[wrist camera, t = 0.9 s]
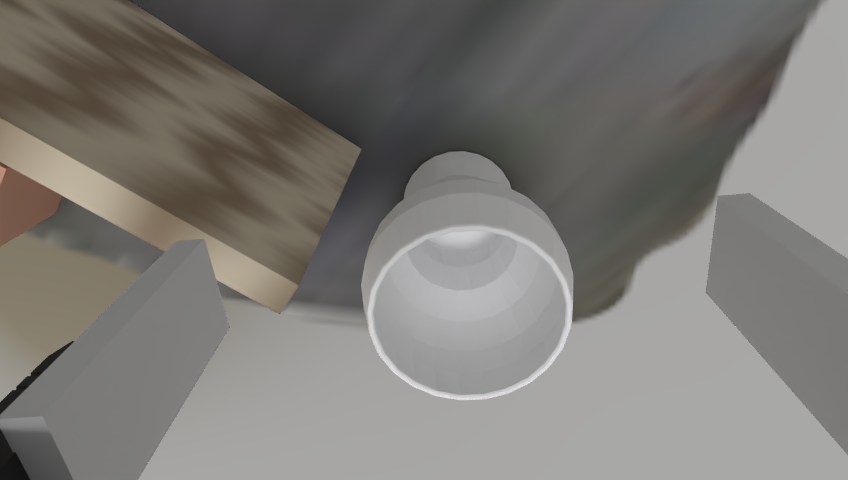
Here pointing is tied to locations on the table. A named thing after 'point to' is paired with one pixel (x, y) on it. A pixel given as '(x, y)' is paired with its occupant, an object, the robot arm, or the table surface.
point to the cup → (467, 283)
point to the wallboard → (167, 140)
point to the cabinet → (23, 203)
